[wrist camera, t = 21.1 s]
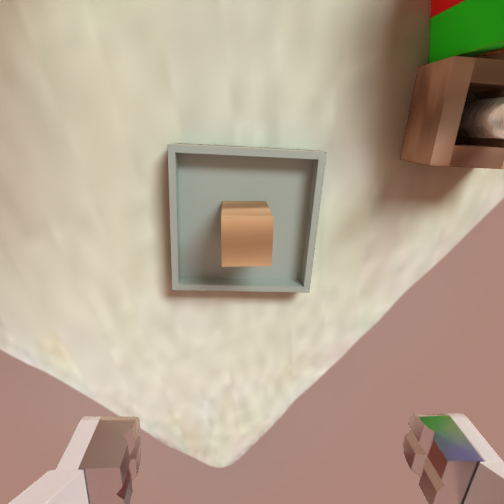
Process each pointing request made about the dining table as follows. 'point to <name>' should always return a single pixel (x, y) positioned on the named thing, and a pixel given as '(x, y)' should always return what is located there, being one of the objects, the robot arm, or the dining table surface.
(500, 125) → the cylinder
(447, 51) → the puzzle toy
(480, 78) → the brown square socket box
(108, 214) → the dining table surface
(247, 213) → the oak block
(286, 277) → the tray
